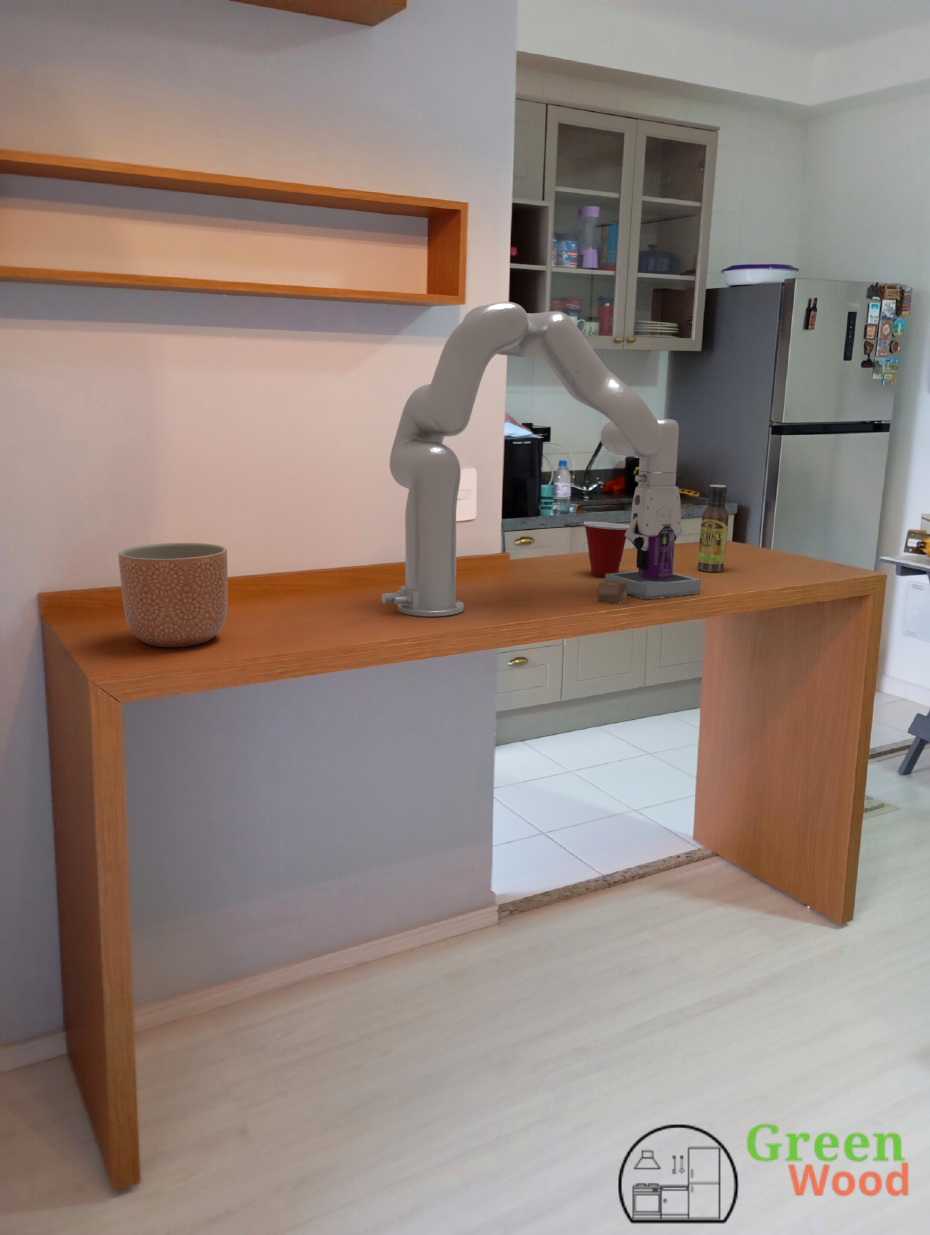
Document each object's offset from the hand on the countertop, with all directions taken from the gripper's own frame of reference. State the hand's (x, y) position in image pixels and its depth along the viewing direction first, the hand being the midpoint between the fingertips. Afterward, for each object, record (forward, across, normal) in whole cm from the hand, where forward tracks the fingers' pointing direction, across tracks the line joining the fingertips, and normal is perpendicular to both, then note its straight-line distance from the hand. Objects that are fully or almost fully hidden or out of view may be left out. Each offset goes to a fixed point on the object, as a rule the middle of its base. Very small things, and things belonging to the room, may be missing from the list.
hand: (652, 567), depth 210 cm
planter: (+6, -98, +2) cm, 98 cm away
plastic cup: (+5, +2, +19) cm, 20 cm away
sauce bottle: (+5, +28, +13) cm, 32 cm away
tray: (+5, 0, 0) cm, 5 cm away
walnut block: (+5, -14, -5) cm, 16 cm away
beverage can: (+3, +1, 0) cm, 3 cm away
